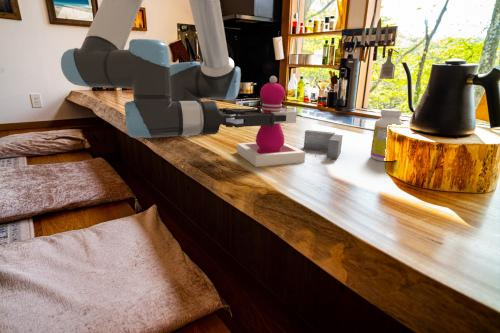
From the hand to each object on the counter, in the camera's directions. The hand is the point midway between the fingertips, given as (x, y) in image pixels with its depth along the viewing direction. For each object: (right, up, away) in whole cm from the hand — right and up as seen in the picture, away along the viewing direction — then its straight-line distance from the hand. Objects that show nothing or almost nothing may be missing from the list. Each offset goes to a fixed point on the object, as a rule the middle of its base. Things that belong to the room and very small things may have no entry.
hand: (289, 115), depth 77 cm
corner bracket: (+11, -9, +8) cm, 16 cm away
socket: (-5, -10, +1) cm, 12 cm away
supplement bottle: (+25, -11, +3) cm, 27 cm away
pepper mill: (-5, -11, +1) cm, 12 cm away
